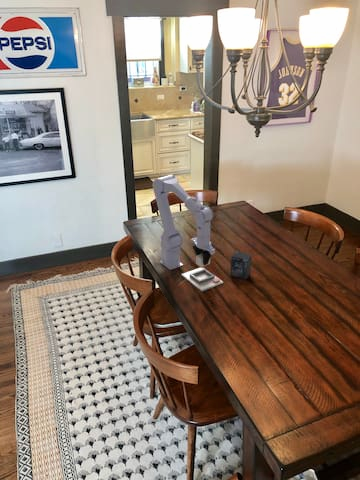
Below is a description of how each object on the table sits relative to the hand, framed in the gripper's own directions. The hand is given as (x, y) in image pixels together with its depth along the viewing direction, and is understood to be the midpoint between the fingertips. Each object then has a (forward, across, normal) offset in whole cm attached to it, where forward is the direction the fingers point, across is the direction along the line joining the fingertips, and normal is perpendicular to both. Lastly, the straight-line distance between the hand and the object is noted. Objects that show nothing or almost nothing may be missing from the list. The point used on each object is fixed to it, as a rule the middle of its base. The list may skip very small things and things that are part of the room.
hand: (202, 262), depth 166 cm
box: (+9, -7, -17) cm, 21 cm away
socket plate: (+9, 0, 0) cm, 9 cm away
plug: (+2, 0, 0) cm, 2 cm away
